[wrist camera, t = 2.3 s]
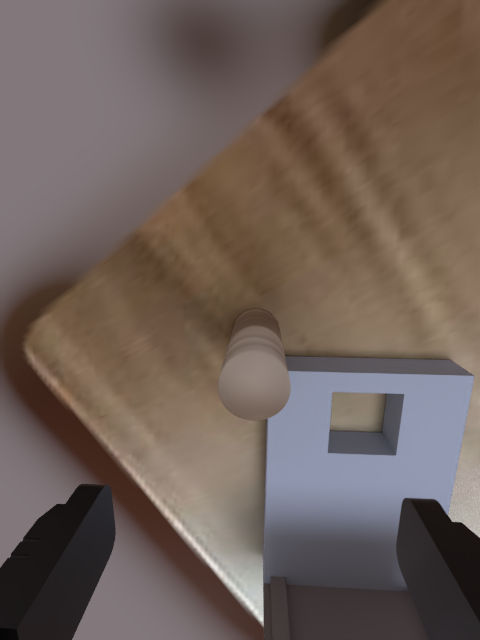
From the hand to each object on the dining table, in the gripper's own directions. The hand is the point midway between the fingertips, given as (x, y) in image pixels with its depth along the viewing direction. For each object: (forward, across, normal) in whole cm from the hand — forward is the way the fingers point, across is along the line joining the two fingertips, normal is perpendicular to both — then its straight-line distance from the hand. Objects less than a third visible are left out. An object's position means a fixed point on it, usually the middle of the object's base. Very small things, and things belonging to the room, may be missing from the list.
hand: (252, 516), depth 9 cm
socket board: (+18, -8, +12) cm, 23 cm away
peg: (+18, 0, 0) cm, 18 cm away
